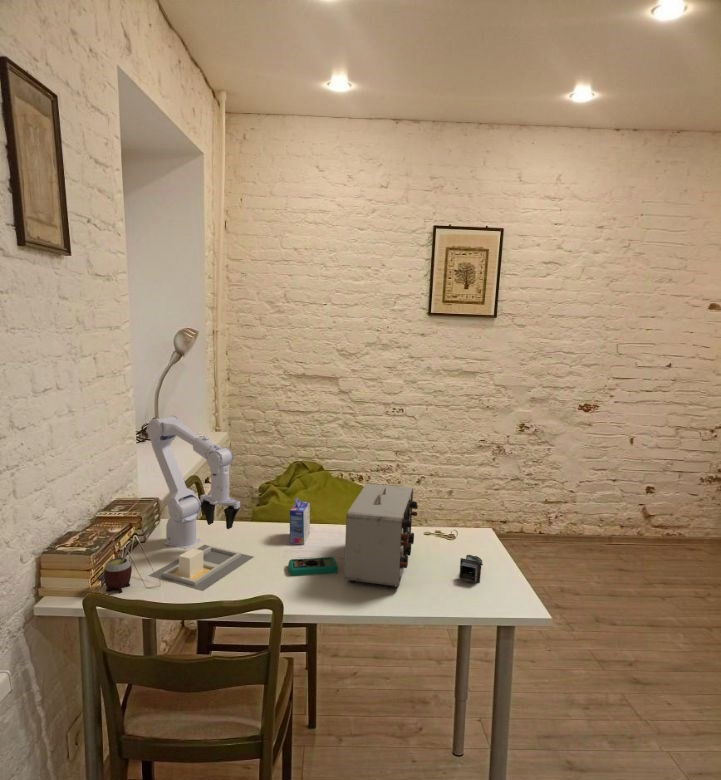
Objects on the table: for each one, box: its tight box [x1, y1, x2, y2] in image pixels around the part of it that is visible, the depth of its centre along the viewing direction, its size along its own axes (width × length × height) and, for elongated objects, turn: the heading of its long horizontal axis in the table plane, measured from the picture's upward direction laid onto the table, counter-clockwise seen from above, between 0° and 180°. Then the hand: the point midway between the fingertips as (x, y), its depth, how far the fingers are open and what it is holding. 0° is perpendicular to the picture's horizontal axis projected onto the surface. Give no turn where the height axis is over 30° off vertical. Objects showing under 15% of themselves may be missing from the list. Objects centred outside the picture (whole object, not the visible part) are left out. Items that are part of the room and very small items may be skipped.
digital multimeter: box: [287, 556, 338, 577], centre depth 166 cm, size 7×15×3 cm, turn 102°
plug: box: [178, 548, 203, 578], centre depth 159 cm, size 4×7×6 cm, turn 157°
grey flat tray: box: [148, 544, 254, 592], centre depth 164 cm, size 20×25×2 cm
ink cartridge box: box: [289, 497, 311, 545], centre depth 188 cm, size 10×6×14 cm, turn 174°
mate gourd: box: [103, 538, 138, 594], centre depth 149 cm, size 8×8×15 cm
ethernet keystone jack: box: [459, 554, 484, 583], centre depth 166 cm, size 6×13×6 cm, turn 158°
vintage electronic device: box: [343, 483, 418, 589], centre depth 169 cm, size 32×18×25 cm, turn 168°
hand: (219, 525), depth 173 cm, fingers open, 7 cm apart
